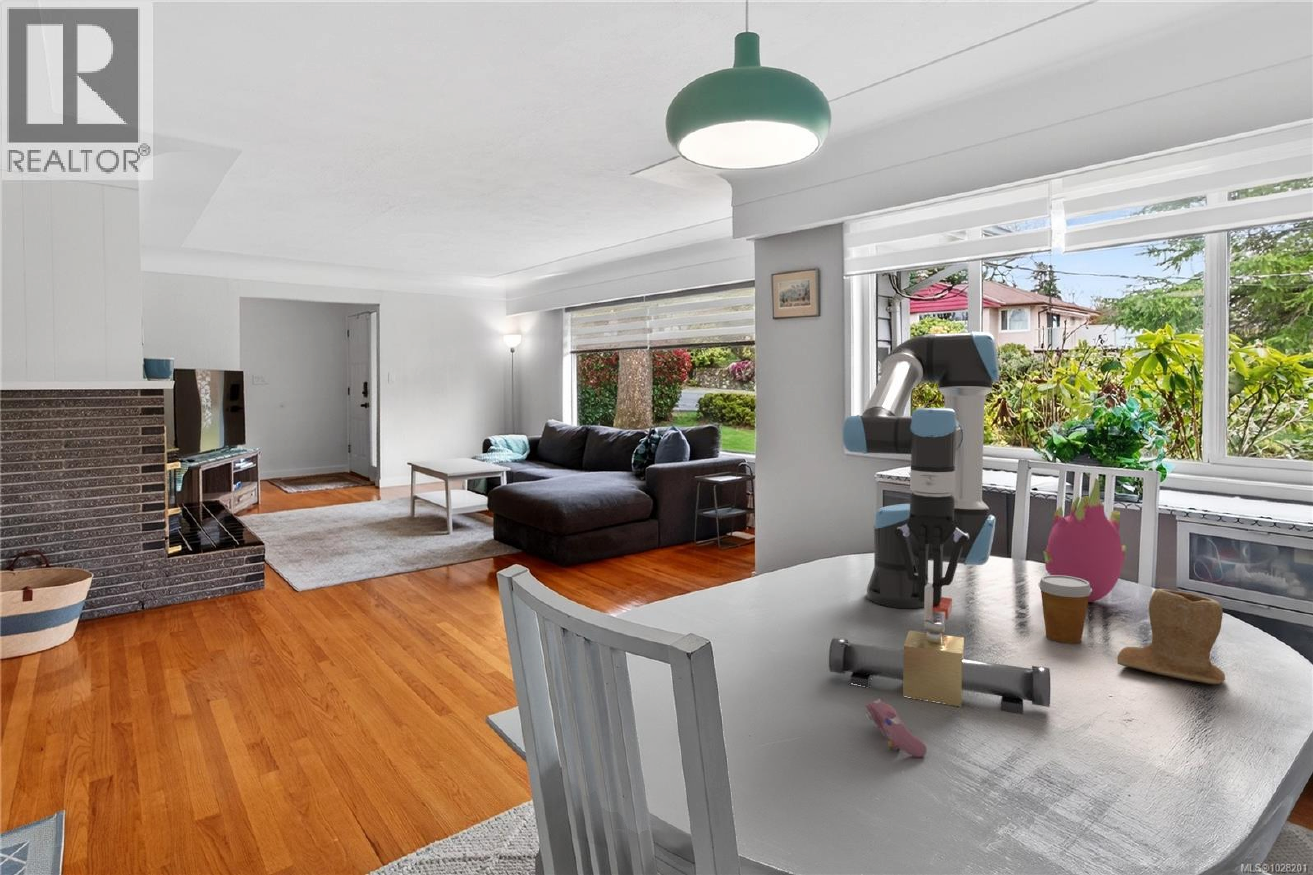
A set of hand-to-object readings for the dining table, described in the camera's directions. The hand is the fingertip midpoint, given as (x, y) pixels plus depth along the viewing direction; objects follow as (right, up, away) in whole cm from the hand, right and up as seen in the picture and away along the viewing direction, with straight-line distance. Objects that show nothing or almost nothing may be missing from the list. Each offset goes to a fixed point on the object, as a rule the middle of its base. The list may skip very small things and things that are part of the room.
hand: (929, 619), depth 129 cm
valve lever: (0, +1, -4) cm, 4 cm away
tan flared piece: (+43, -9, -2) cm, 44 cm away
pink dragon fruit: (+52, -6, +39) cm, 65 cm away
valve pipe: (-3, -10, -9) cm, 14 cm away
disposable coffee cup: (+34, -8, +15) cm, 38 cm away
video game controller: (-15, -12, -25) cm, 32 cm away
